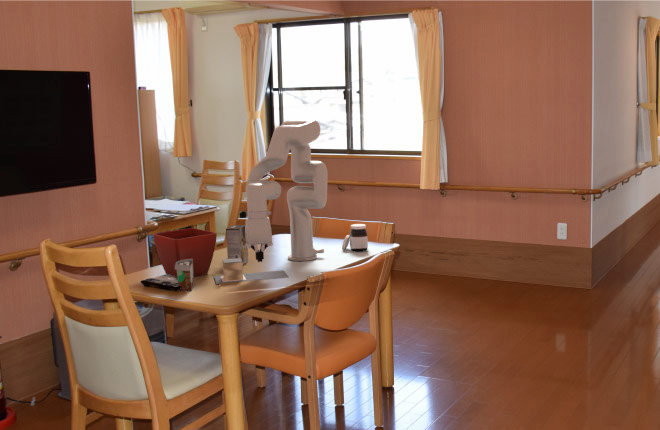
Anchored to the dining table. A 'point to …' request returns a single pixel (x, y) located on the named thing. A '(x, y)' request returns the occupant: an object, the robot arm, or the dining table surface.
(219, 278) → the topple mat
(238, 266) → the oak cube
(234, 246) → the coffee box
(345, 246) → the spread jar
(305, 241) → the robot arm
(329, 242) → the dining table surface
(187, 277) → the food container
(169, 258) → the plant pot
